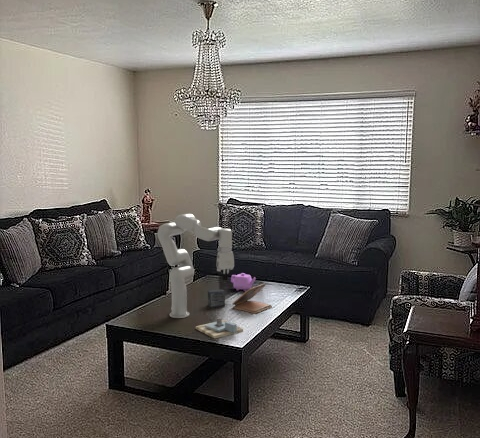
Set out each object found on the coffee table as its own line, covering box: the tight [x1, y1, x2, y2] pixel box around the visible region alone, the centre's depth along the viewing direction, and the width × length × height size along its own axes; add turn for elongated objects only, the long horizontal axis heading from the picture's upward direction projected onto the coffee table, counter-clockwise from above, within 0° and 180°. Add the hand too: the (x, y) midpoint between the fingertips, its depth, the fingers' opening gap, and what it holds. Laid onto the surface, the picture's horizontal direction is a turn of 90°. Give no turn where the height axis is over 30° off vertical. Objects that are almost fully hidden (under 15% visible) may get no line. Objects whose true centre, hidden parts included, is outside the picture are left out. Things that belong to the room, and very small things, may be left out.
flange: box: [205, 320, 238, 334], centre depth 298 cm, size 19×12×4 cm, turn 46°
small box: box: [207, 289, 226, 308], centre depth 349 cm, size 11×6×10 cm, turn 109°
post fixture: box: [195, 317, 244, 339], centre depth 300 cm, size 20×20×7 cm
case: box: [232, 283, 273, 314], centre depth 344 cm, size 20×21×16 cm
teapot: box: [230, 272, 257, 292], centre depth 390 cm, size 20×12×13 cm, turn 69°
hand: (224, 279), depth 305 cm, fingers closed
